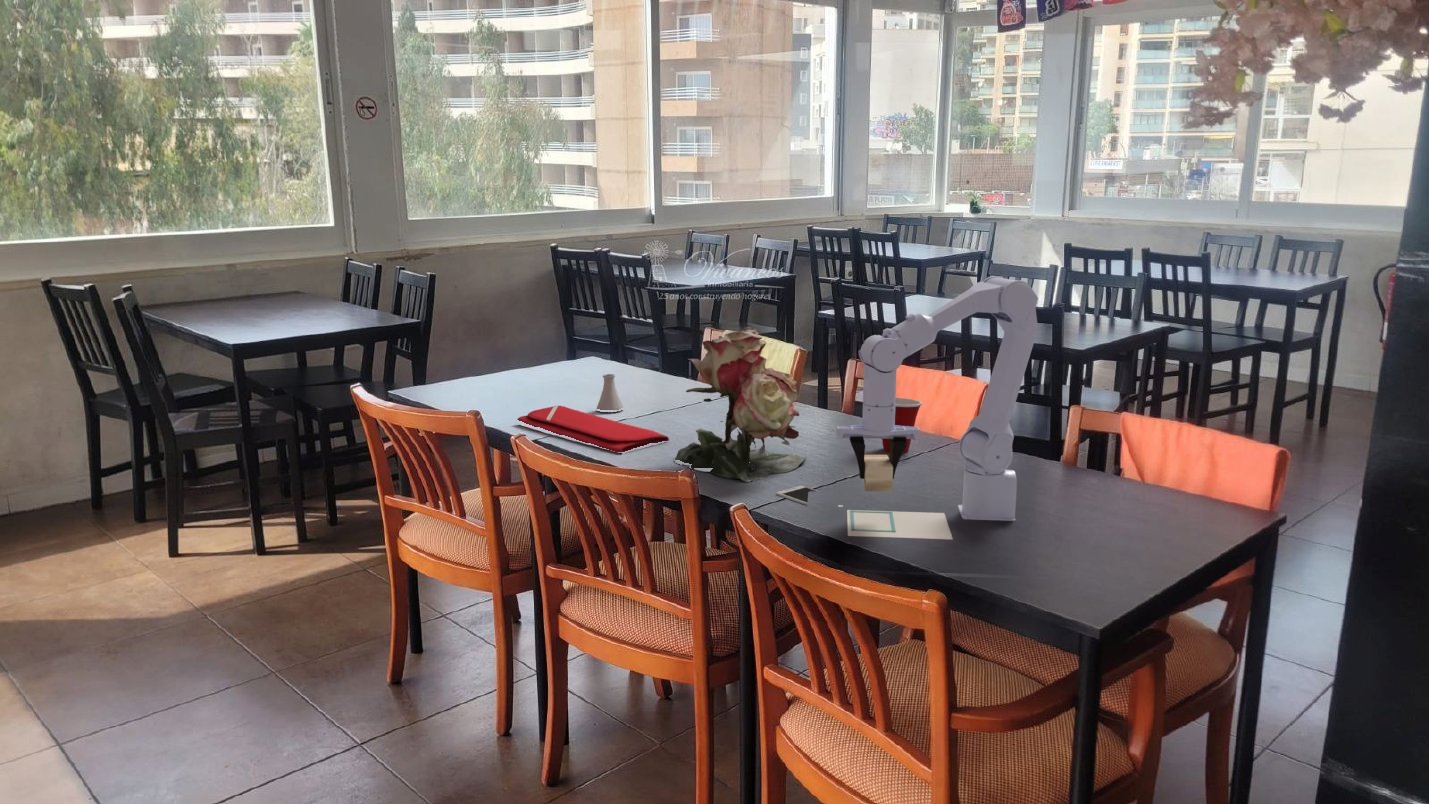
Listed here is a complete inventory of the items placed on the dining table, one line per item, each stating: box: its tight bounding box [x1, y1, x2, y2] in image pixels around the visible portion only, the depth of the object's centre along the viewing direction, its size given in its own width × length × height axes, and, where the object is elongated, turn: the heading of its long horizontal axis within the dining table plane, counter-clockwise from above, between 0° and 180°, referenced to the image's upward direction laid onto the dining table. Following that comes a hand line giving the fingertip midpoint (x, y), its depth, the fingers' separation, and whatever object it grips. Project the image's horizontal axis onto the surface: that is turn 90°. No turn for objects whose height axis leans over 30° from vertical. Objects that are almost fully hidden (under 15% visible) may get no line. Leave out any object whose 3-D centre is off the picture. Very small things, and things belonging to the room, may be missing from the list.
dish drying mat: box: [516, 405, 670, 452], centre depth 248 cm, size 16×41×4 cm, turn 46°
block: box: [861, 454, 894, 493], centre depth 180 cm, size 8×5×4 cm, turn 178°
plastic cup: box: [881, 397, 923, 453], centre depth 231 cm, size 11×11×12 cm
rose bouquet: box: [669, 326, 807, 483], centre depth 219 cm, size 26×29×30 cm
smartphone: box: [775, 485, 844, 508], centre depth 196 cm, size 7×15×1 cm, turn 39°
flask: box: [596, 373, 624, 410], centre depth 272 cm, size 7×7×10 cm
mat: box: [846, 509, 954, 541], centre depth 181 cm, size 18×14×1 cm
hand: (876, 477), depth 180 cm, fingers closed on block, 5 cm apart
